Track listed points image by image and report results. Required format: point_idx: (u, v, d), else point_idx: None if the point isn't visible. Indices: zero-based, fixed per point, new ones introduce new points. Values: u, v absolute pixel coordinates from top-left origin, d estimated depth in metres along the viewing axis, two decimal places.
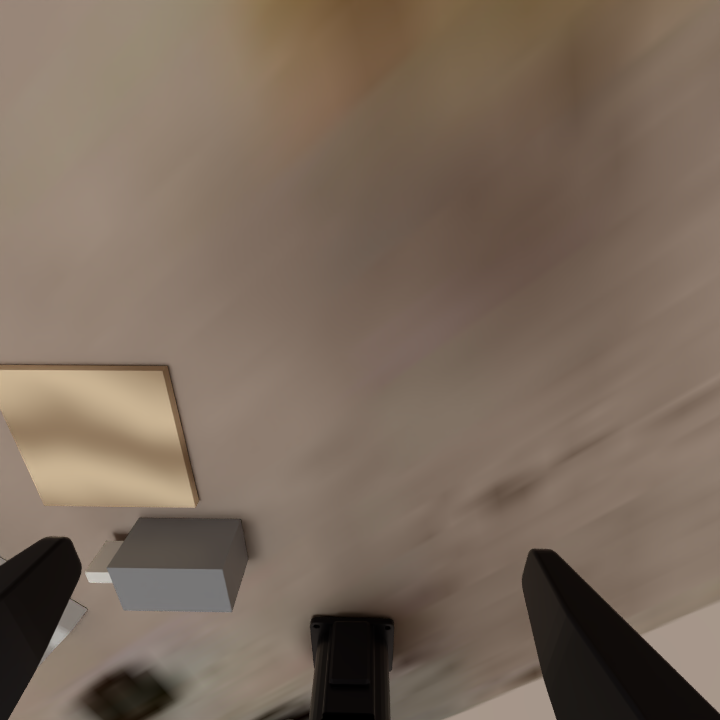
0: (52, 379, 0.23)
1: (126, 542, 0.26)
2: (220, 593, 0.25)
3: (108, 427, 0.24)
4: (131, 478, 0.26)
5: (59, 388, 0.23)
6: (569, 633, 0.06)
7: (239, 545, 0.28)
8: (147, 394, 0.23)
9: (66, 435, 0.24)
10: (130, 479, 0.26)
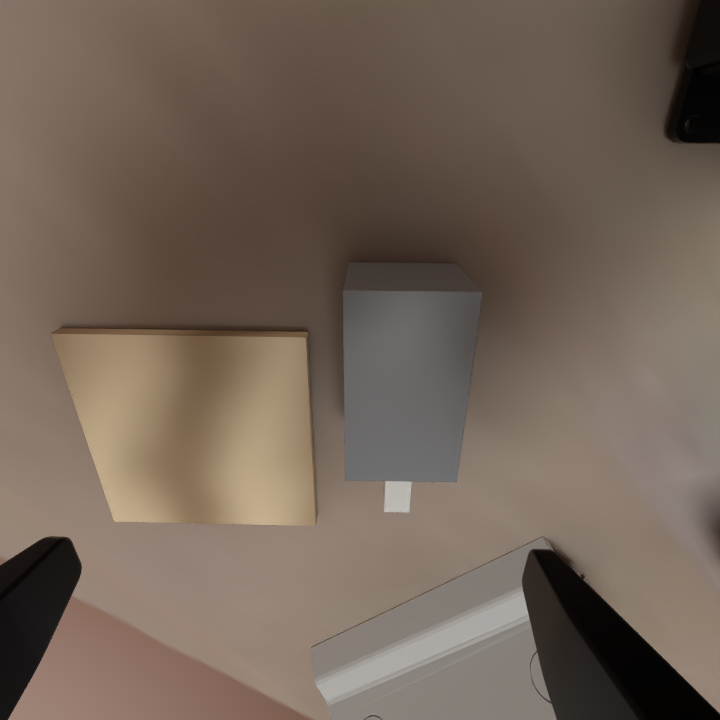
0: (106, 461, 0.19)
1: None
2: (418, 306, 0.12)
3: (166, 421, 0.18)
4: (254, 415, 0.17)
5: (117, 458, 0.19)
6: (569, 633, 0.06)
7: (388, 268, 0.14)
8: (96, 361, 0.16)
9: (190, 470, 0.19)
10: (255, 417, 0.17)
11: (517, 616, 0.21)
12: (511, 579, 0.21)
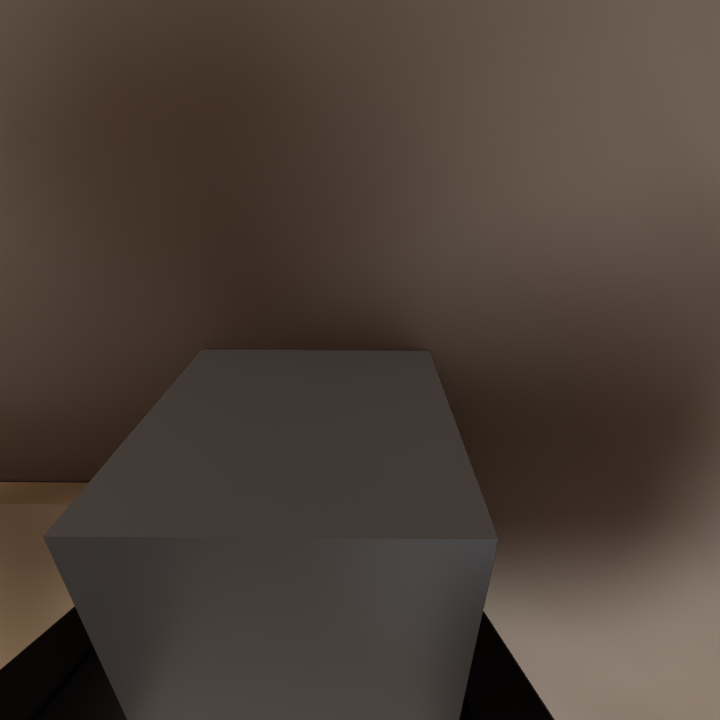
0: None
1: None
2: (295, 572, 0.04)
3: None
4: None
5: None
6: None
7: (271, 378, 0.06)
8: None
9: None
10: None
11: None
12: None
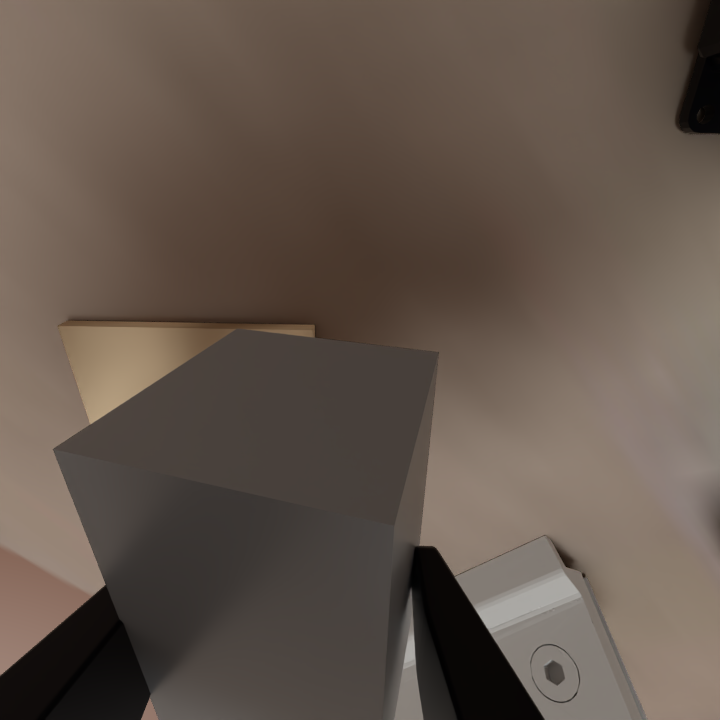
0: None
1: None
2: (226, 519, 0.04)
3: None
4: None
5: None
6: (425, 629, 0.06)
7: (279, 360, 0.07)
8: (102, 353, 0.16)
9: None
10: None
11: (518, 614, 0.21)
12: (513, 577, 0.21)
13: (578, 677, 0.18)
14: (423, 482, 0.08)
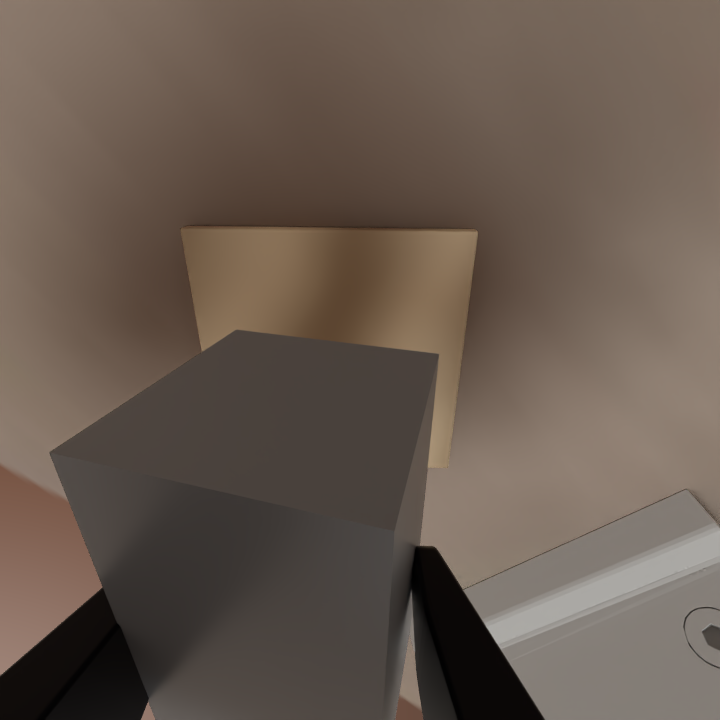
0: None
1: None
2: (224, 523, 0.04)
3: None
4: (401, 331, 0.15)
5: None
6: (425, 629, 0.06)
7: (278, 361, 0.07)
8: (228, 263, 0.14)
9: None
10: (401, 334, 0.15)
11: (660, 575, 0.19)
12: (652, 535, 0.19)
13: None
14: (423, 484, 0.08)
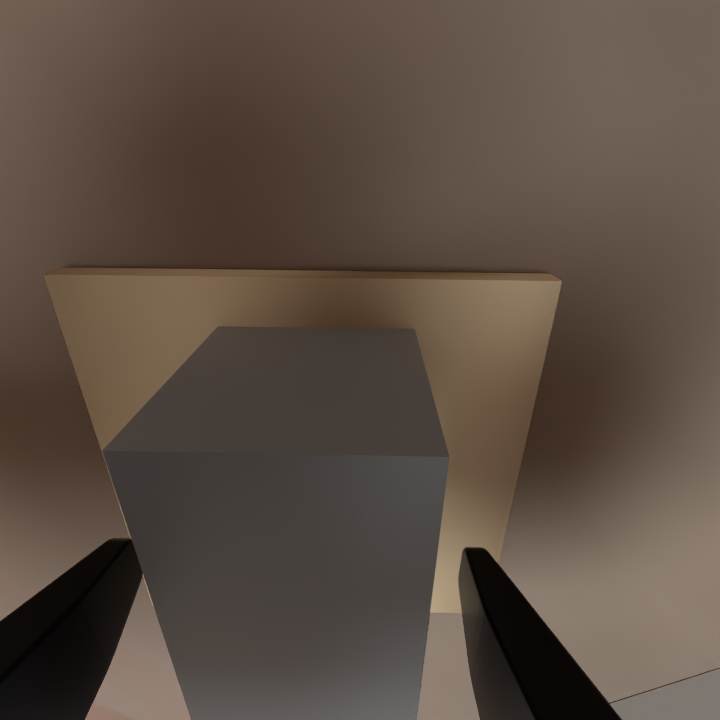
0: None
1: None
2: (293, 484, 0.05)
3: None
4: None
5: None
6: (486, 630, 0.06)
7: (277, 349, 0.07)
8: (132, 331, 0.08)
9: None
10: None
11: None
12: None
13: None
14: None
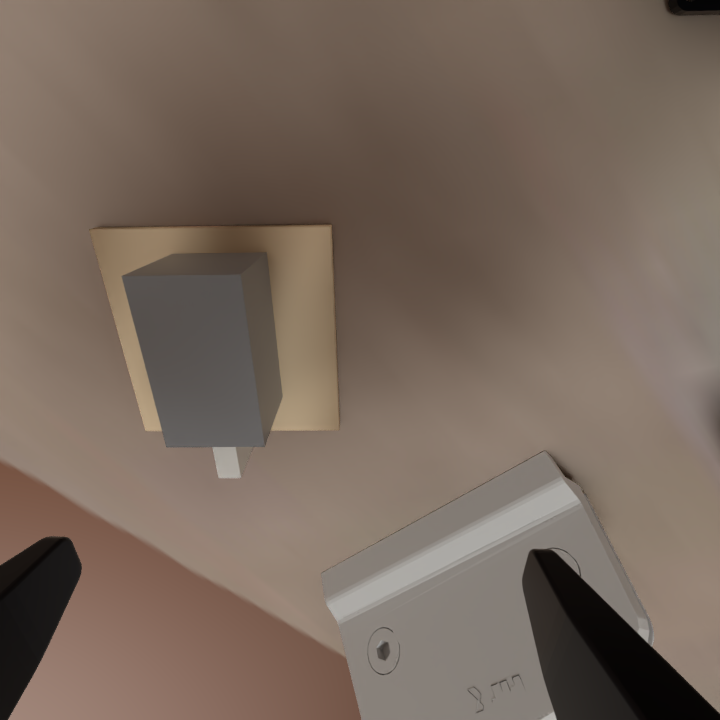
0: (139, 366, 0.20)
1: None
2: (189, 288, 0.14)
3: None
4: (281, 311, 0.18)
5: None
6: (569, 633, 0.06)
7: (196, 258, 0.16)
8: (131, 257, 0.17)
9: None
10: (281, 313, 0.18)
11: (521, 524, 0.22)
12: (515, 490, 0.22)
13: (579, 572, 0.19)
14: (269, 311, 0.18)
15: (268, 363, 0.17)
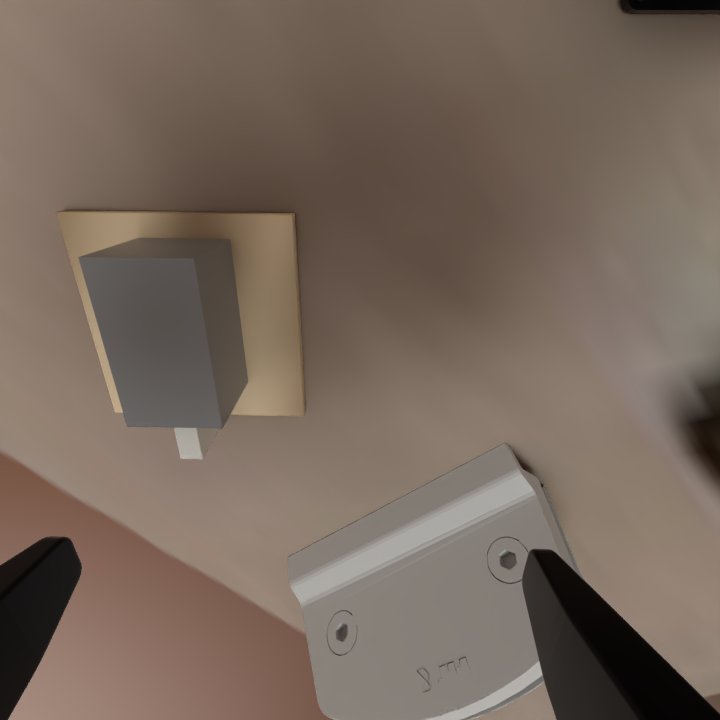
0: None
1: None
2: (144, 271, 0.14)
3: None
4: (245, 297, 0.19)
5: None
6: (569, 633, 0.06)
7: (159, 242, 0.17)
8: (98, 240, 0.18)
9: None
10: (246, 299, 0.19)
11: (478, 514, 0.22)
12: (474, 480, 0.22)
13: None
14: (232, 297, 0.18)
15: (229, 347, 0.18)
